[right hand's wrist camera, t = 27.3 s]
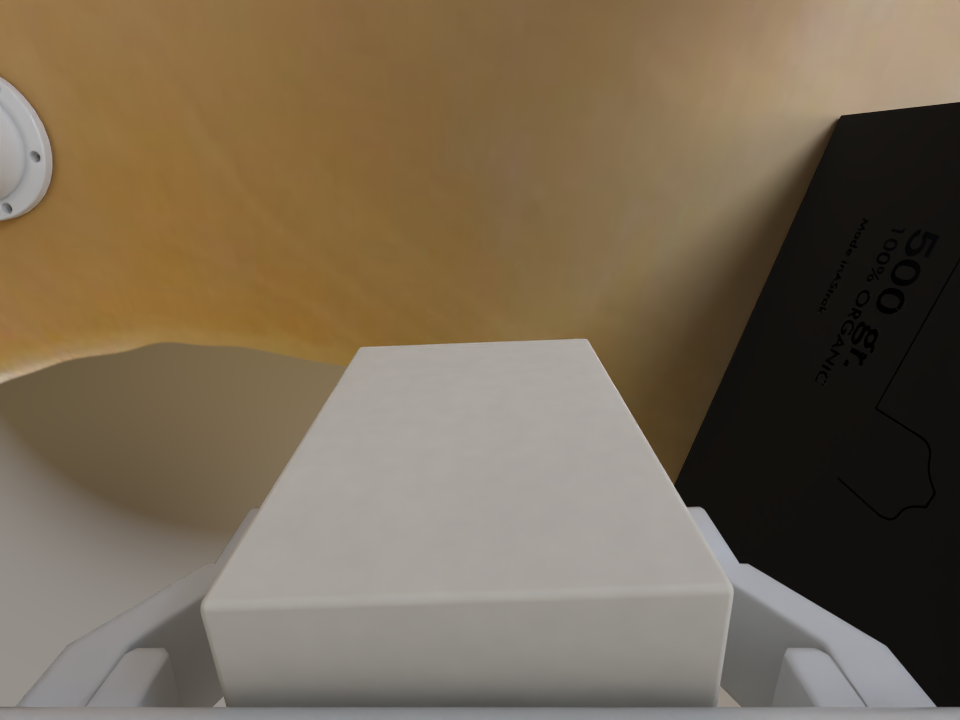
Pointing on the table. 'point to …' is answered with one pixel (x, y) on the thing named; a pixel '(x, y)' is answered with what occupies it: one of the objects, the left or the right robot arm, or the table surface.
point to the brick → (471, 547)
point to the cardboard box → (855, 398)
